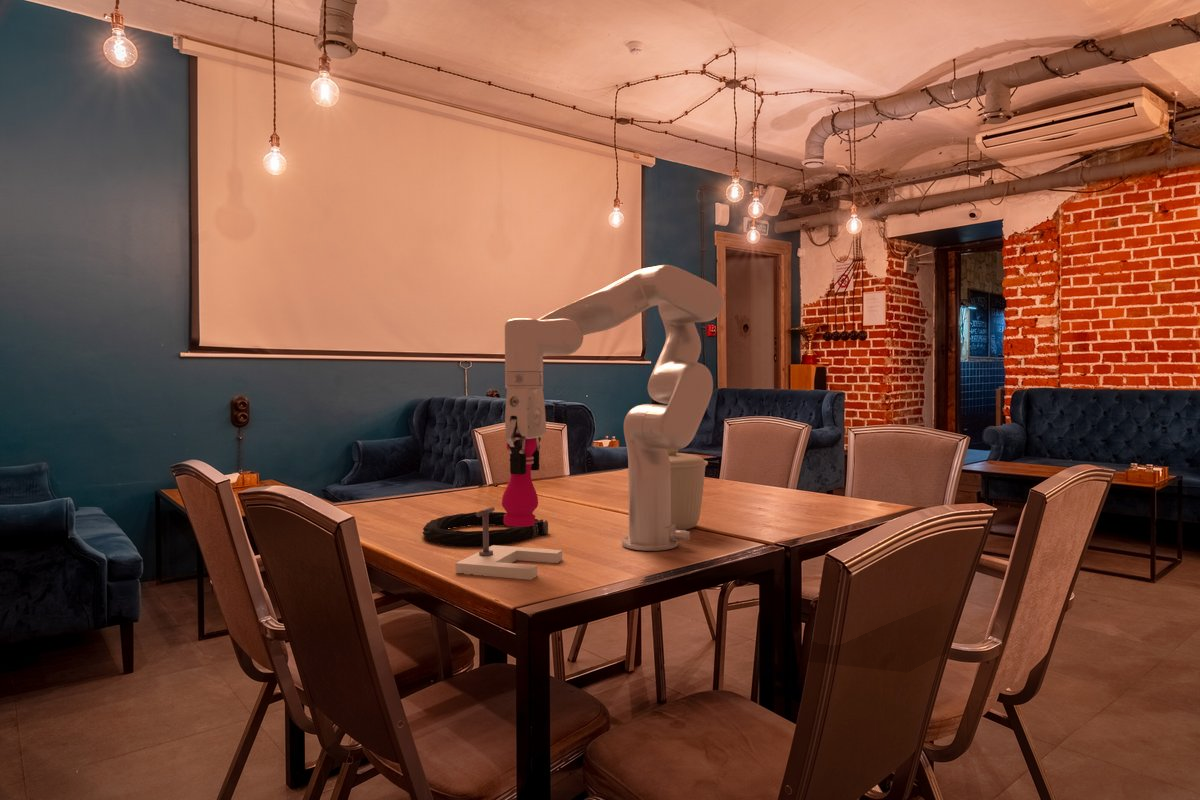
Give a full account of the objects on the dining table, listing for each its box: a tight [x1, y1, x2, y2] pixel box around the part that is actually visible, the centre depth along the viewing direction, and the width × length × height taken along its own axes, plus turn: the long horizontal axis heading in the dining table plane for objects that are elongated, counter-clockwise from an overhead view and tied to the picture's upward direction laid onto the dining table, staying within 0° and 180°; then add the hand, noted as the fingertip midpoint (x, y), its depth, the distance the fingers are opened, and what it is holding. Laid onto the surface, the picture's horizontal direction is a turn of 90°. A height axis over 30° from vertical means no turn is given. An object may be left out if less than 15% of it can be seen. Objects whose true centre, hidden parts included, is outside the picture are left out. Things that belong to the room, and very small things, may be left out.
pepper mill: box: [501, 435, 539, 527], centre depth 151 cm, size 7×7×20 cm
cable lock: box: [422, 511, 549, 548], centre depth 184 cm, size 28×4×30 cm
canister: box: [666, 449, 709, 530], centre depth 190 cm, size 18×18×21 cm
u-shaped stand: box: [455, 506, 563, 581], centre depth 153 cm, size 16×16×11 cm
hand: (525, 471), depth 151 cm, fingers closed on pepper mill, 5 cm apart
